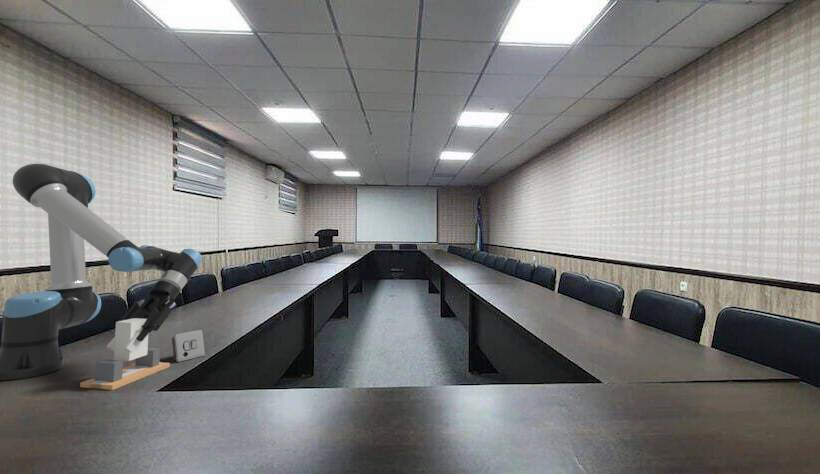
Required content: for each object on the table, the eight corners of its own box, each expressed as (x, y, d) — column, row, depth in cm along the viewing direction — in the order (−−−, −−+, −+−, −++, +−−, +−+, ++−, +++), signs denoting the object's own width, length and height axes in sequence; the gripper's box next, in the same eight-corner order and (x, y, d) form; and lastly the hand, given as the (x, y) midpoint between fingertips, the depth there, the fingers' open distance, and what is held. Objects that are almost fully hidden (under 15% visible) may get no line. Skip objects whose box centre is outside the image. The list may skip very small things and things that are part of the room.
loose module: (113, 359, 101) (115, 321, 101) (132, 353, 107) (134, 318, 107) (129, 360, 100) (131, 322, 100) (147, 354, 106) (149, 318, 106)
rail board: (80, 387, 94) (81, 363, 94) (142, 364, 113) (143, 345, 113) (112, 389, 93) (113, 366, 93) (169, 366, 112) (170, 347, 112)
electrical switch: (177, 363, 116) (177, 334, 117) (169, 361, 118) (169, 334, 119) (205, 356, 124) (205, 329, 125) (196, 355, 126) (196, 329, 127)
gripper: (198, 294, 118) (154, 358, 101) (151, 292, 120) (100, 354, 103) (187, 280, 113) (139, 344, 96) (138, 278, 115) (82, 341, 98)
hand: (119, 349), depth 100 cm, fingers closed on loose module, 5 cm apart
